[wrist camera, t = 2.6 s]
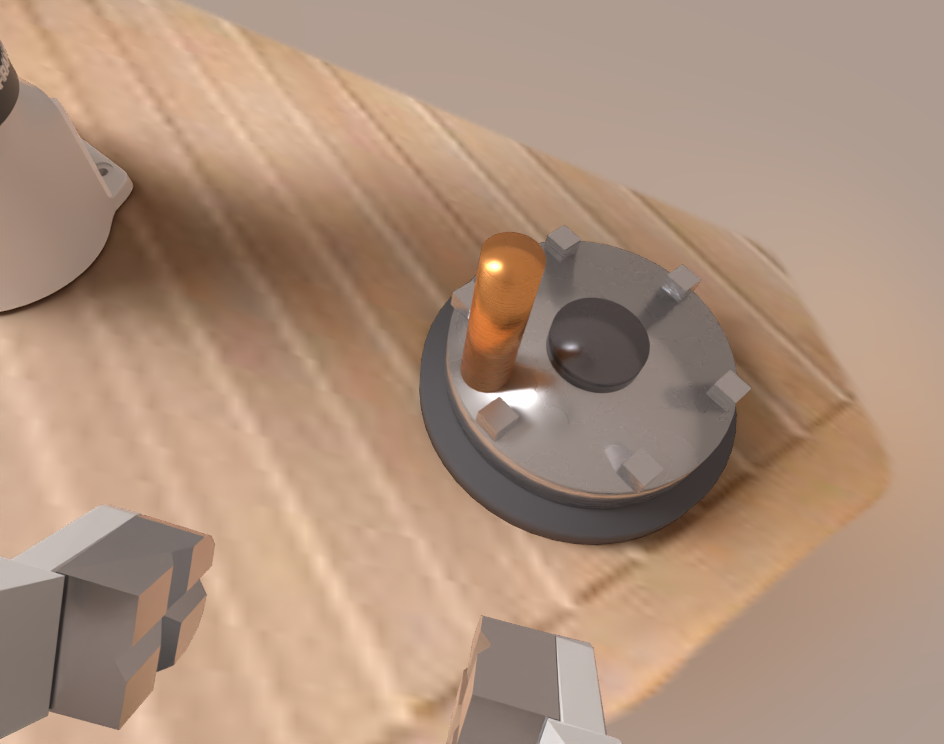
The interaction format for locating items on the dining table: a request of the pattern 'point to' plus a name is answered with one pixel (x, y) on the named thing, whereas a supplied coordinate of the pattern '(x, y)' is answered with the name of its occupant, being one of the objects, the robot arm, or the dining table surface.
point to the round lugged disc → (587, 370)
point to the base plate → (528, 506)
